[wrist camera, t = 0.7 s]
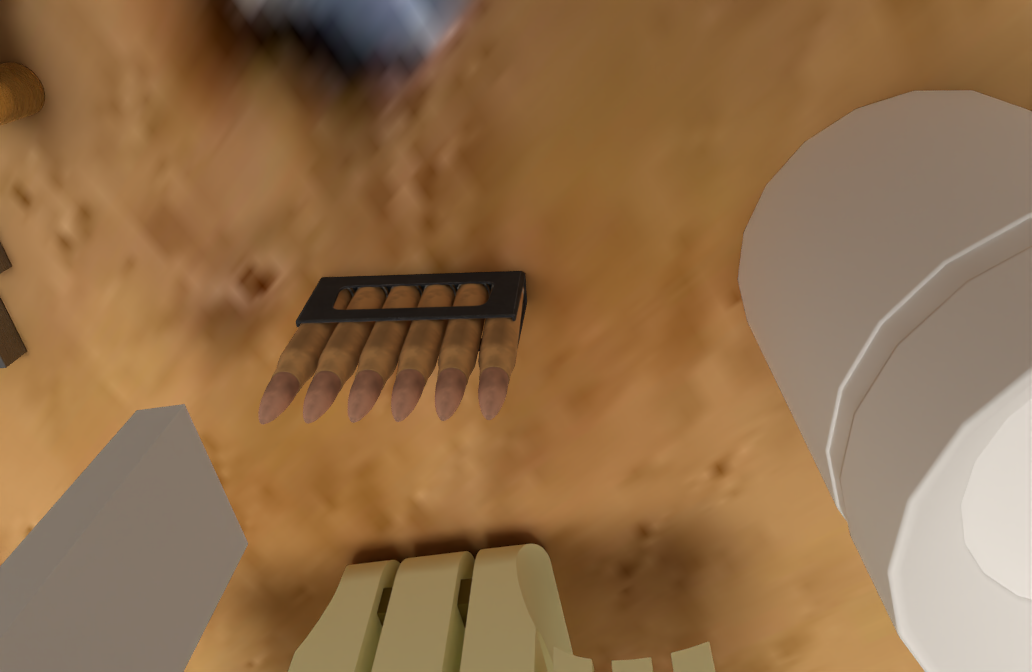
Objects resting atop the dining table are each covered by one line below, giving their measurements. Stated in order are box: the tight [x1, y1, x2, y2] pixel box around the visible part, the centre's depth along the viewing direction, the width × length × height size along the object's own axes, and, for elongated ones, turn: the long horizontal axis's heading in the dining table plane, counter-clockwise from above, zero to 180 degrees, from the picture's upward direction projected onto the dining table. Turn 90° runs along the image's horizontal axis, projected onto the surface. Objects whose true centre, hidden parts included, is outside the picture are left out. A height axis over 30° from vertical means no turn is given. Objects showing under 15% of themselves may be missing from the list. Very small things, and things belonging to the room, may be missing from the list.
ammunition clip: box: [259, 271, 527, 424], centre depth 34 cm, size 11×2×12 cm, turn 93°
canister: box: [738, 90, 1032, 672], centre depth 29 cm, size 16×16×20 cm
